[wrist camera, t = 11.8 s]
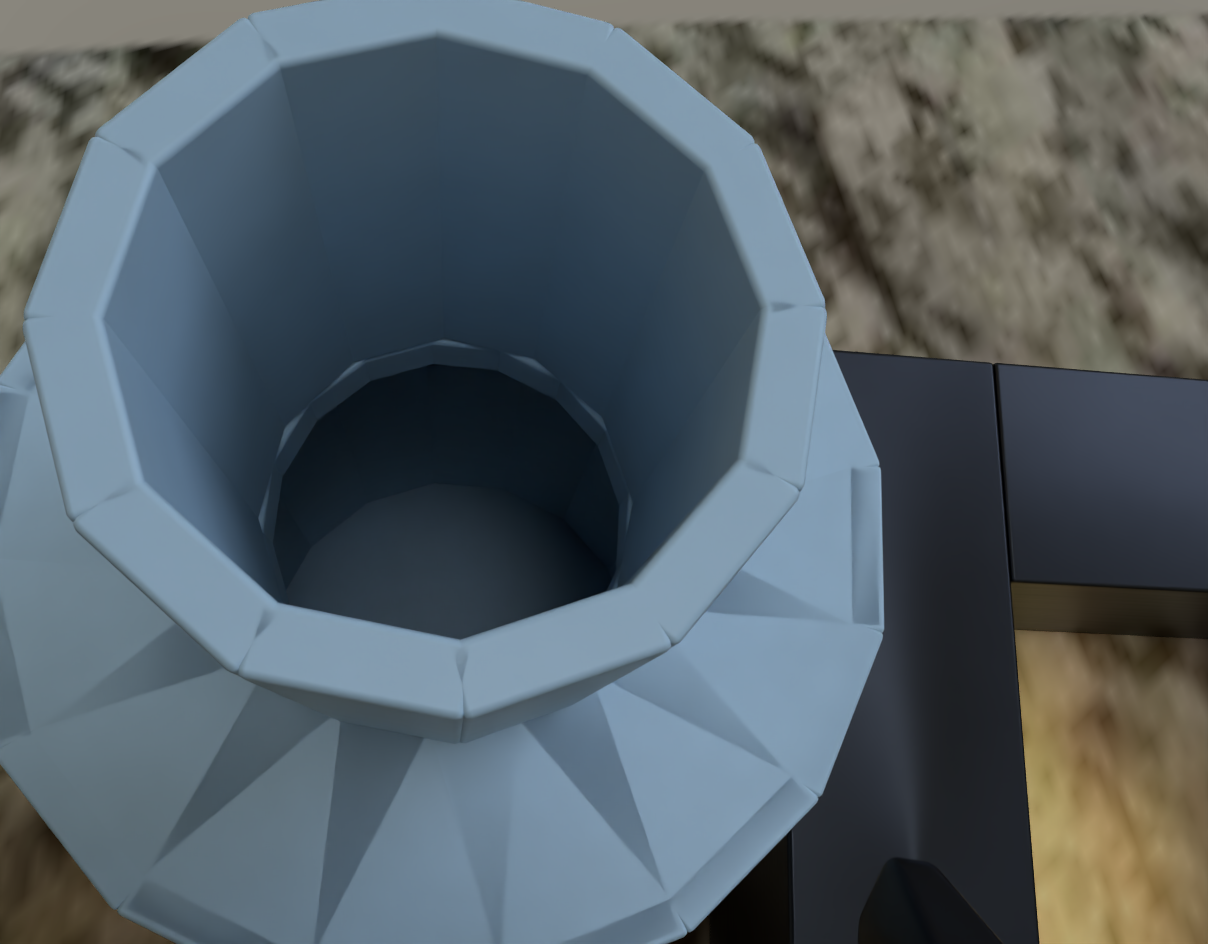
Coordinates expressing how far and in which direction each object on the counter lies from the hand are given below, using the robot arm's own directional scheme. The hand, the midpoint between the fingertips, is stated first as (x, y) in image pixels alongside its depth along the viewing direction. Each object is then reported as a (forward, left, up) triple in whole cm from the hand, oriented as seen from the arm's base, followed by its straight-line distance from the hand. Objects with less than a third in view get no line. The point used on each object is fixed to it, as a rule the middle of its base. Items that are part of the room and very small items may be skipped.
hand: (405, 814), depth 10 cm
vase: (+2, 0, -8) cm, 9 cm away
